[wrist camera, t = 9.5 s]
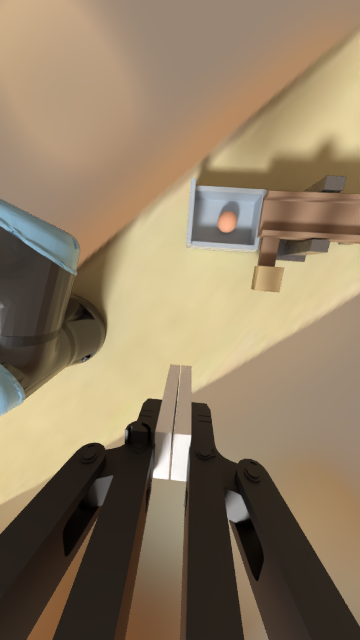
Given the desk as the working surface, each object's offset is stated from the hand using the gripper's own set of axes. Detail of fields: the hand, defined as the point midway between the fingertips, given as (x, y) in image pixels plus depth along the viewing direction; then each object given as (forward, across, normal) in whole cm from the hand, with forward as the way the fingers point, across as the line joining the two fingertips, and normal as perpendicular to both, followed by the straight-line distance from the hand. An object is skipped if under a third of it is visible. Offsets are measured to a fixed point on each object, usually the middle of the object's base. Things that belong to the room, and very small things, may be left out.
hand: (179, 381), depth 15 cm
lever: (+20, +19, +13) cm, 30 cm away
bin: (+26, +5, +17) cm, 32 cm away
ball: (+25, +4, +17) cm, 31 cm away
